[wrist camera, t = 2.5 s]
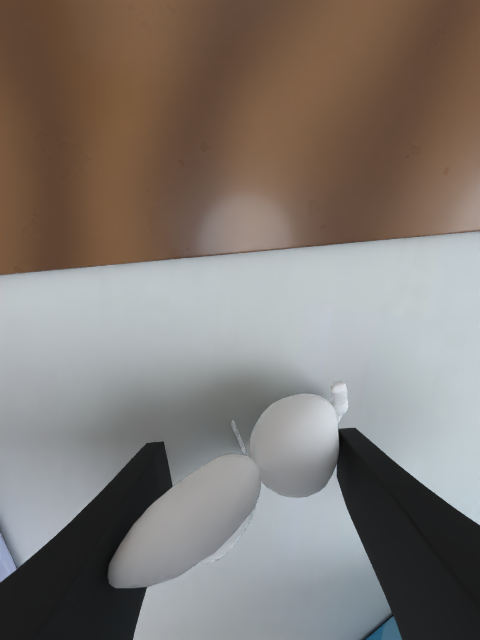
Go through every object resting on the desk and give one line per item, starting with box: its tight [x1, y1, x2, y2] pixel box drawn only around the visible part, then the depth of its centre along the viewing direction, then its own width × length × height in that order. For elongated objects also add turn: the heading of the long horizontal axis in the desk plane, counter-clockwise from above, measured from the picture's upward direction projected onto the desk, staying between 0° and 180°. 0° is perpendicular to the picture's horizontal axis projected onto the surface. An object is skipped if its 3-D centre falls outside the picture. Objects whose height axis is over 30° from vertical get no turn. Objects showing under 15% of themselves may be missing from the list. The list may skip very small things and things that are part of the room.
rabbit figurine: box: [107, 381, 348, 588], centre depth 9 cm, size 6×4×8 cm
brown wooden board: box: [0, 0, 480, 275], centre depth 7 cm, size 20×12×1 cm, turn 95°
